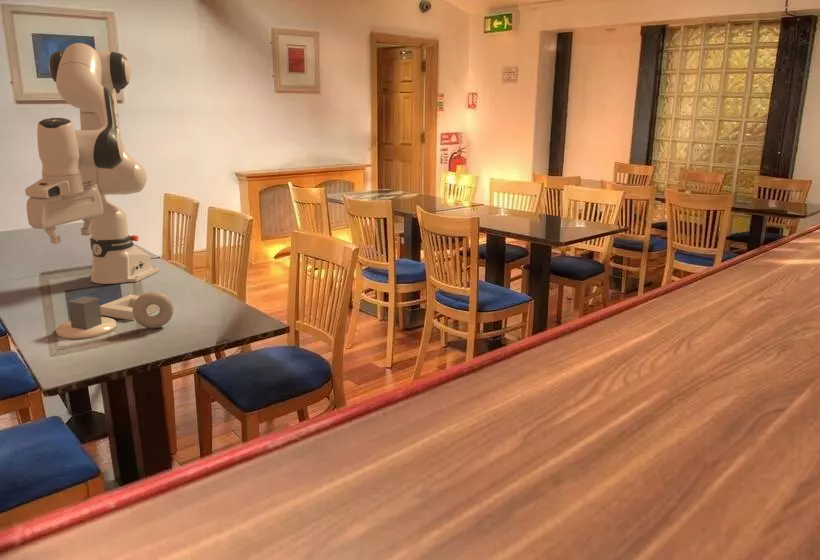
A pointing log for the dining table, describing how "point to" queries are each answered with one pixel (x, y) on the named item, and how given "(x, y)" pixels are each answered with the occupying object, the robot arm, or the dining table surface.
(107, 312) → the pocket collar
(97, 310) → the block
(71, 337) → the peach ellipsoid
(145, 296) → the donut
